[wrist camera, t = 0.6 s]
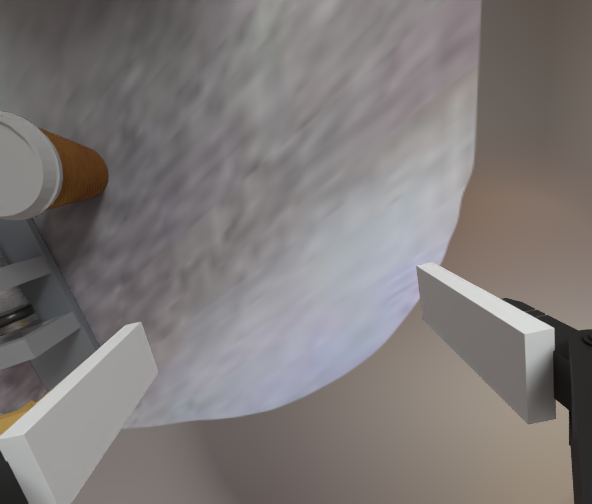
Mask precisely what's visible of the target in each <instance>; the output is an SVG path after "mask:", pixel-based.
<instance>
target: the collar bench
mask: <svg viewBox="0 0 592 504" xmlns="http://www.w3.org/2000/svg"><path fill="white" fill-rule="evenodd" d="M0 251H1V253H2V255H3V256H4V258H5V260H6V262H7V263H8V265H7V266H4V267H0V291H3V290H6V289H9V288H11V287H14V286H17V285H20V286H21V288H22V290H23V292H24V293H25V295H26V297H27V299H28V301H29V302H30V304H32V305H33V307H34V309H35V311H36V315H37V316H38V318H39V319H38V320H37V321H35V322H33V323H31V324H29V325H27V326H25V327H23V328H20V329H18V330H16V331H13V332H12V333H10V334H8V335H7V336H5V337H3V338H1V339H0V370H2V369H5V368H8V367H11V366H14V365H17V364H20V363H23V362H25V361H28V360H29V361H30V363H31V364H32V366H33V368H34V369H35V371H36V373H37V374H38V376H39V378H40V379H41V381H42V383H43V384H44V386H45V388H46V390H47V391H48V393H49V392H50V391H51V390H53V389H54V388H55V387H56V386H57V385H58V384H59V383H60V382H62V381H63V380H64V379H65V378H66V377H67V376H68V375H70V374H71V373H72V372H73V371H74V370H75V369H76V368H77V367H79V366H80V365H81V364H82V363H83V362H84V361H85V360H86V359H88V358H89V357H90V356H91V355H92V354H93V353H94V352H95V351H97V350H98V349H99V348H100V346H99V344H98V342H97V340H96V338H95V336H94V334H93V333H92V331H91V329H90V327H89V325H88V323H87V321H86V319H85V317H84V316H83V314H82V312H81V310H80V308H79V306H78V304H77V302H76V301H75V299H74V297H73V295H72V293H71V291H70V289H69V287H68V285H67V284H66V282H65V280H64V278H63V276H62V274H61V272H60V270H59V269H58V267H57V265H56V263H55V261H54V259H53V257H52V255H51V253H50V252H49V250H48V248H47V246H46V244H45V242H44V240H43V238H42V237H41V235H40V233H39V231H38V229H37V227H36V225H35V223H34V221H33V220H32V218H29V219H24V220H4V219H0ZM48 393H47V394H48ZM47 394H46V395H47ZM46 395H45V396H46ZM45 396H43V397H42V398H44V397H45ZM42 398H41V399H42ZM41 399H40V400H41ZM40 400H39V401H40ZM39 401H38V402H39ZM38 402H36V403H35V402H34V401H30V402H28V403H27V404H25V405H24V406H23V407H22V408H21V409H19V410H16V411H13V412H10V413H7V414H4V415H1V416H0V435H1V434H3V433H4V432H5V431H6V430H7V429H9V428H10V427H11V426H12V425H13V424H14V423H15V422H16V421H18V420H19V419H20V418H21V417H22V416H23V415H24V414H26V413H27V412H28V411H29V410H30V409H31V408H32V407H33V406H35V405H36V404H37V403H38Z"/></svg>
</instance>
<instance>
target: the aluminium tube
mask: <svg viewBox="0 0 592 504" xmlns="http://www.w3.org/2000/svg"><path fill="white" fill-rule="evenodd" d="M7 265H8V263H7V262H6V260H5V258H4V256H3V255H2V253H1V251H0V267H4V266H7ZM38 319H39V318H38V316H37V315H36V311H35V309H34V307H33V305H32V304H30V302H29V301H28V299H27V297H26V295H25V293H24V292H23V290H22V288H21V286H20V285H17V286H14V287H11V288H9V289H6V290H3V291H0V336H3V335H5V334H8V333H11V332H13V331H16V330H18V329H20V328H23V327H25V326H27V325H29V324H31V323H33V322H35V321H37V320H38Z"/></svg>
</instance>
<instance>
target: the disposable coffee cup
mask: <svg viewBox="0 0 592 504" xmlns="http://www.w3.org/2000/svg"><path fill="white" fill-rule="evenodd" d="M107 181H108V170H107V167H106V164H105V163H104V161H103V159H102V158H101V157H100V155H99V154H97V153H96V152H95V151H93V150H92V149H90V148H88V147H85V146H83V145H80V144H78V143H75V142H73V141H70V140H68V139H65V138H63V137H60V136H58V135H55V134H53V133H50V132H48V131H45V130H43V129H40V128H38V127H36V126H35V125H33V124H32V123H31V122H29V121H28V120H26V119H24V118H22V117H20V116H17V115H15V114H13V113H9V112H4V111H0V219H4V220H24V219H29V218H32V217H34V216H37V215H39V214H41V213H42V212H43V211H45V210H47V209H51V208H55V207H58V206H62V205H66V204H70V203H74V202H77V201H81V200H84V199H88V198H93V197H95V196H97V195H99V194H100V193H101V192H102V191H103V190H104V189H105V187H106V185H107Z"/></svg>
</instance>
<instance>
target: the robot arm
mask: <svg viewBox="0 0 592 504" xmlns="http://www.w3.org/2000/svg"><path fill="white" fill-rule="evenodd" d="M416 268H417V276H418V284H419V293H420V301H421V310H422V318H423V320H424V321H425V322H426V323H427V324H428V325H429V326H430V327H431V328H432V329H433V330H434V331H435V332H436V333H437V334H438V335H439V336H440V337H441V338H442V339H443V340H444V341H445V342H446V343H447V344H448V345H449V346H450V347H451V348H452V349H453V350H454V351H455V352H456V353H457V354H458V355H459V356H460V357H461V358H462V359H463V360H464V361H465V362H466V363H467V364H468V365H469V366H470V367H471V368H472V369H473V370H474V371H475V372H476V373H477V374H478V375H479V376H480V377H481V378H482V379H483V380H484V381H485V382H486V383H487V384H488V385H489V386H490V387H491V388H492V389H493V390H494V391H495V392H496V393H497V394H498V395H499V396H500V397H501V398H502V399H503V400H504V401H505V402H506V403H507V404H508V405H509V406H510V407H511V408H512V409H513V410H514V411H515V412H516V413H517V414H518V415H519V416H520V417H521V418H522V419H523V420H524V421H525V422H526V423H527V424H532V423H537V422H543V421H548V420H552V419H556V403H555V402H556V401H555V399H556V400H557V401H558V402H560V403H561V404H562V405H563V406H565V407H566V408H567V409H568V410H569V445H570V446H571V458H572V474H573V488H574V489H573V490H574V504H592V330H580V331H578V330H576V329H574V328H572V327H570V326H568V325H566V324H564V323H562V322H560V321H558V320H556V319H554V318H552V317H550V316H548V315H545V314H544V313H542V312H540V311H538V310H535V309H534V308H532V307H531V306H529V305H527V304H524V303H523V302H519V301H515V300H512V299H508V298H504V299H499V298H498V297H496V296H494V295H492V294H490V293H488V292H486V291H485V290H483V289H481V288H479V287H477V286H475V285H473V284H472V283H470V282H468V281H466V280H464V279H462V278H460V277H459V276H457V275H455V274H453V273H451V272H449V271H448V270H446V269H444V268H442V267H440V266H438V265H436V264H435V263H433V262H432V263H427V264H422V265H417V266H416ZM158 373H159V372H158V369H157V366H156V364H155V361H154V358H153V355H152V352H151V349H150V346H149V343H148V340H147V337H146V334H145V331H144V329H143V326H142V323H141V322H138V323H133V324H128V325H125V326H124V327H123V328H121V329H120V330H119V331H118V332H117V333H116V334H115V335H114V336H112V337H111V338H110V339H109V340H108V341H107V342H106V343H105V344H103V345H102V346H101V347H100V348H99V349H98V350H97V351H95V352H94V353H93V354H92V355H91V356H90V357H89V358H88V359H86V360H85V361H84V362H83V363H82V364H81V365H80V366H79V367H77V368H76V369H75V370H74V371H73V372H72V373H71V374H70V375H68V376H67V377H66V378H65V379H64V380H63V381H62V382H60V383H59V384H58V385H57V386H56V387H55V388H54V389H53V390H51V391H50V392H49V393H48V394H47V395H46V396H45V397H44V398H42V399H41V400H40V401H39V402H38V403H37V404H36V405H35V406H33V407H32V408H31V409H30V410H29V411H28V412H27V413H26V414H24V415H23V416H22V417H21V418H20V419H19V420H18V421H16V422H15V423H14V424H13V425H12V426H11V427H10V428H9V429H7V430H6V431H5V432H4V433H3V434H2V435H1V436H0V504H71V503H72V502H73V500H74V499H75V497H76V496H77V494H78V493H79V491H80V490H81V488H82V487H83V485H84V484H85V482H86V480H87V479H88V477H89V476H90V475H91V473H92V472H93V470H94V469H95V467H96V466H97V464H98V463H99V461H100V460H101V458H102V457H103V455H104V454H105V452H106V451H107V449H108V448H109V446H110V445H111V443H112V442H113V440H114V439H115V437H116V436H117V434H118V433H119V431H120V430H121V428H122V427H123V425H124V424H125V422H126V421H127V419H128V418H129V416H130V415H131V413H132V412H133V410H134V409H135V407H136V406H137V404H138V403H139V401H140V400H141V398H142V397H143V395H144V394H145V392H146V391H147V389H148V388H149V387H150V385H151V384H152V382H153V381H154V379H155V378H156V376H157V375H158Z"/></svg>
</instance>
